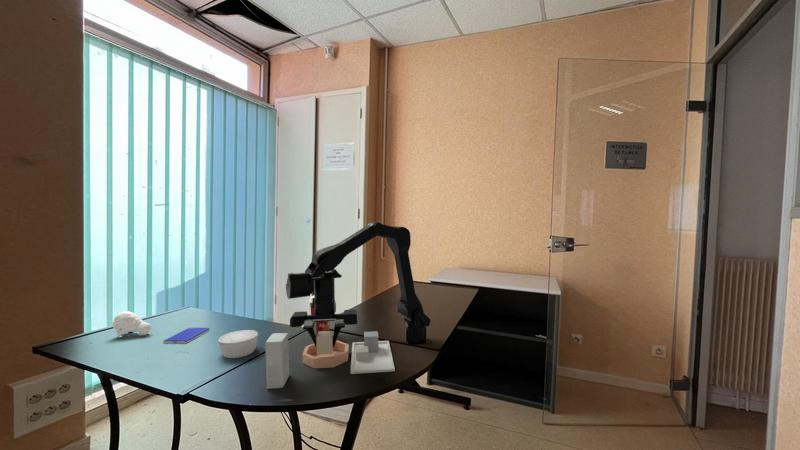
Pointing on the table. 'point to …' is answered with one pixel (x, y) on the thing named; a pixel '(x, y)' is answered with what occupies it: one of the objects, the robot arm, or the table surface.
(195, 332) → the hard drive
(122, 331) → the white animal figurine
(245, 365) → the table surface
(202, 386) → the table surface
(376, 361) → the parts tray
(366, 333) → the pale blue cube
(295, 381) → the table surface
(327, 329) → the paper cup
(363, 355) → the beige grey block
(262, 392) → the table surface
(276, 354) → the skincare box
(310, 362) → the terracotta dish
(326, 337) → the cream cube
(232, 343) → the ramekin
